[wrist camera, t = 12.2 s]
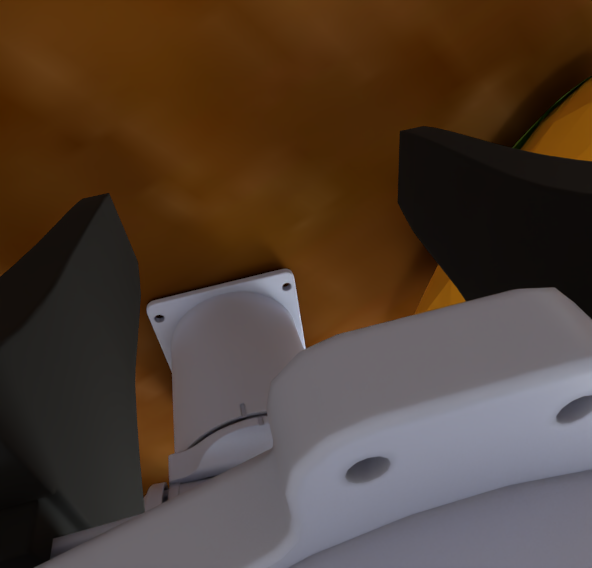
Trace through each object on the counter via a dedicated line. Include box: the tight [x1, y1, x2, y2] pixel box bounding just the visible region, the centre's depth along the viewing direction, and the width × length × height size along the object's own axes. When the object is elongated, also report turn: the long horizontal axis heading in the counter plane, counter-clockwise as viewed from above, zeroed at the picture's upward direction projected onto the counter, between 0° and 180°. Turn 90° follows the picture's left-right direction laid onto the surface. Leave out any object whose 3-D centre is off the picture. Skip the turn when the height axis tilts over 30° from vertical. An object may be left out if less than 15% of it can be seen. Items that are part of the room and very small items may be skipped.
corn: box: [414, 76, 592, 315], centre depth 24 cm, size 7×8×20 cm
